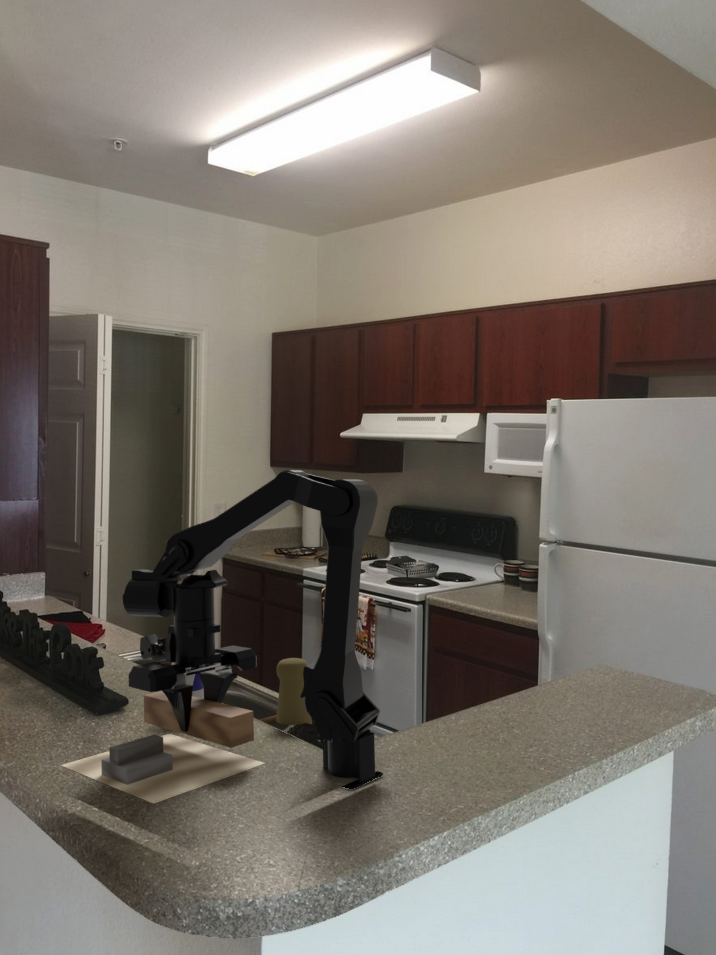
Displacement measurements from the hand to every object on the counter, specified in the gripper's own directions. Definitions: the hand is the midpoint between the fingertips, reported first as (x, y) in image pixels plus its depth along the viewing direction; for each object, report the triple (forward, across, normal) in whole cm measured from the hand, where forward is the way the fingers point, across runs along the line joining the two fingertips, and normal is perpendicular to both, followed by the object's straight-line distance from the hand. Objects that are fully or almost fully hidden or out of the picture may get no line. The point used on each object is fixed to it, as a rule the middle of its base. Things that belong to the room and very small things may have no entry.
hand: (196, 727), depth 117 cm
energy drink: (+5, -12, -18) cm, 22 cm away
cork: (+5, -20, -1) cm, 21 cm away
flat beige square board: (+5, +6, 0) cm, 8 cm away
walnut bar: (0, 0, 0) cm, 0 cm away
